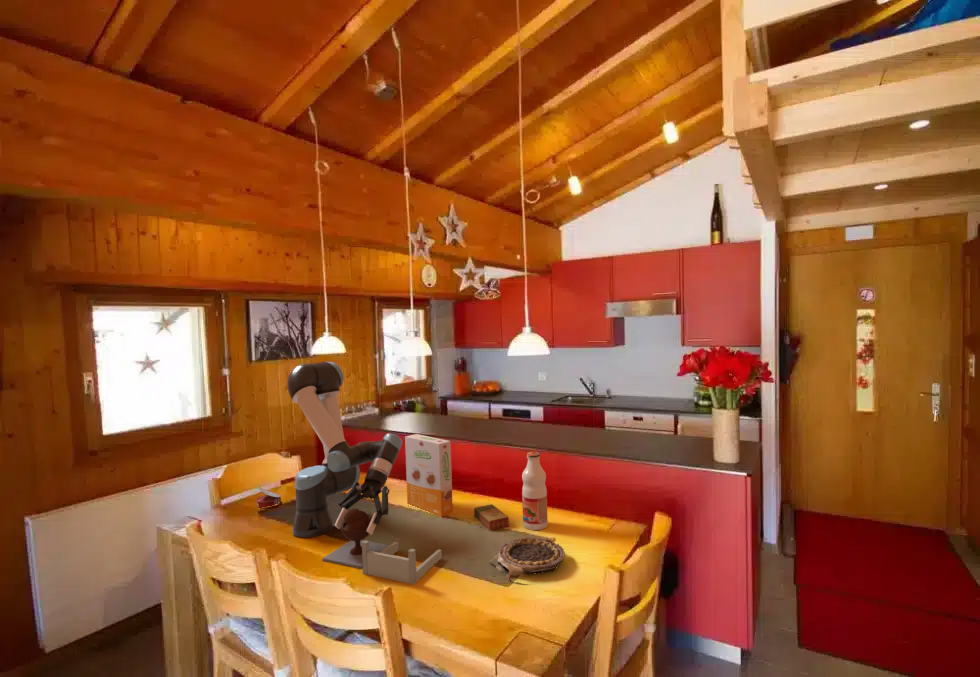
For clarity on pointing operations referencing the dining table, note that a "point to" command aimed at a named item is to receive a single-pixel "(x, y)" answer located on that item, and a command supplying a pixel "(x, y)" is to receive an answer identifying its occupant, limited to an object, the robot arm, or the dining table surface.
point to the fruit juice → (534, 494)
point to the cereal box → (429, 474)
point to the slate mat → (347, 559)
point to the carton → (491, 517)
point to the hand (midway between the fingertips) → (352, 530)
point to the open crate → (396, 563)
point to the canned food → (268, 498)
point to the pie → (529, 556)
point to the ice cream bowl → (355, 528)
